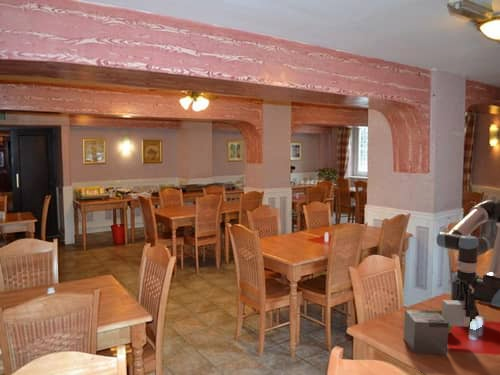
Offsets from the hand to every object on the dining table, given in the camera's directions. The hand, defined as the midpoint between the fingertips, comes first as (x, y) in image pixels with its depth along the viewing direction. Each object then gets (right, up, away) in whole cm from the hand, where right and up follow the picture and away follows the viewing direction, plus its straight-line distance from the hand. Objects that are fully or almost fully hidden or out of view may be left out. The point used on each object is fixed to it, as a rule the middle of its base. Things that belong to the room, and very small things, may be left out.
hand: (463, 320), depth 183 cm
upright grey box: (-4, -2, 0) cm, 4 cm away
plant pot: (-3, -9, +11) cm, 15 cm away
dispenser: (-19, -10, -4) cm, 22 cm away
